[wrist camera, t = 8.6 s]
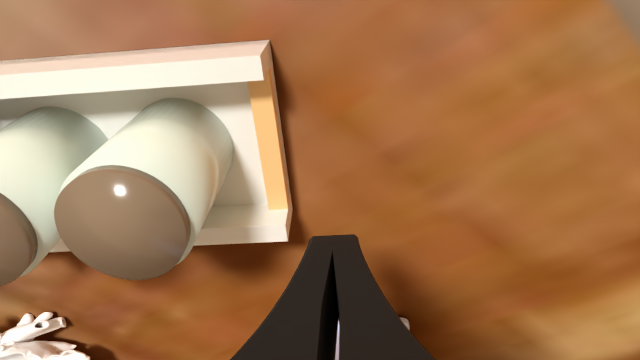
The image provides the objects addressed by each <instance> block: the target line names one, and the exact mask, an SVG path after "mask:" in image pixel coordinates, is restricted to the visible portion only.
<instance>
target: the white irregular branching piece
mask: <svg viewBox="0 0 640 360" xmlns="http://www.w3.org/2000/svg"><path fill="white" fill-rule="evenodd" d="M52 316H53V313H51V312H44V313H42V314H41V315H39V316H38V317H37V318H36V319H35V320H34V317H33V314H25V315H24V316H23V317H22V319H21V321H20V322H19V323H18V324H17V326H16V327H14V328H12V329H9V330H7V331H5V332H3V333H0V360H90V356H87V355H86V354H85V353H83V352H79V351H77V350H74V348H75V347H76V345H73V344H70V343H67V342H60V341H33V340H34V338H35V337H37V336H39V335H42V334H45V333H48V332H51V331H54V330H56V329H59V328H61V327H66V321H65V318H64V317H58V318H54V319H51V320H48V319H50V318H51V317H52ZM47 320H48V321H47Z"/></svg>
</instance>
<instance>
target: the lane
mask: <svg viewBox="0 0 640 360" xmlns="http://www.w3.org/2000/svg"><path fill="white" fill-rule="evenodd" d="M166 98H182V99H187V100H191V101H194V102H196V103H199V104H201V105H203V106H204V107H206V108H208V109H209V110H210V111H212V112H213V113H214V114H215V115H216V116H217V117H218V118H219V119H220V120H221V121H222V122H223V124H224V125H225V127H226V128H227V130H228V132H229V134H230V137H231V140H232V144H233V160H232V164H231V167H230V169H229V171H228V173H227V175H226V177H225V180H224V182H223V184H222V186H221V188H220V190H219V192H218V194H217V197H216V199H215V201H214V203H213V205H212V207H211V209H210V211H209V214H208V216H207V218H206V220H205V222H204V224H203V226H202V228H201V230H200V233H199V235H198V237H197V239H196V241H195V243H194V245H193V246H197V245H219V244H241V243H262V242H284V241H288V237H289V230H290V224H291V218H292V211H293V209H292V201H291V194H290V187H289V179H288V172H287V165H286V157H285V150H284V142H283V135H282V128H281V120H280V113H279V106H278V98H277V91H276V84H275V76H274V69H273V62H272V54H271V47H270V40H261V41H248V42H236V43H223V44H210V45H197V46H185V47H172V48H159V49H146V50H133V51H121V52H108V53H95V54H82V55H70V56H57V57H44V58H31V59H18V60H6V61H0V129H1V128H2V127H4V126H6V125H8V124H9V123H11V122H13V121H14V120H16V119H18V118H19V117H21V116H23V115H24V114H26V113H28V112H30V111H32V110H34V109H37V108H40V107H61V108H65V109H69V110H72V111H74V112H77V113H79V114H81V115H83V116H84V117H86V118H88V119H89V120H90V121H92V122H93V123H94V124H95V125H96V126H98V127H99V128H100V129H101V131H102V132H103V133H104V134H105V135H106V137H107V138H108V140H109V139H110V138H111V137H112V136H113V135H115V134H116V133H117V132H118V131H119V130H120V129H121V128H122V127H124V126H125V125H126V124H127V123H128V122H129V121H130V120H132V119H133V118H134V117H135V116H136V115H137V114H138V113H139V112H141V111H142V110H143V109H144V108H145V107H147V106H148V105H149V104H151V103H153V102H155V101H158V100H161V99H166ZM65 251H70V250H69V249H68V247H67V246H66V245H65V243H64V242H63V240H62V239H60V240H59V241H58V243H57V244H56V245H55V246H54V247H53V248H52V249H51V250H50V251H49V252H65Z"/></svg>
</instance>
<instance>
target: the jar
mask: <svg viewBox="0 0 640 360" xmlns="http://www.w3.org/2000/svg"><path fill="white" fill-rule="evenodd" d="M232 160H233V144H232V140H231V137H230V134H229V132H228V130H227V128H226V127H225V125H224V124H223V122H222V121H221V120H220V119H219V118H218V117H217V116H216V115H215V114H214V113H213V112H212V111H210V110H209V109H208V108H206V107H204V106H203V105H201V104H199V103H196V102H194V101H191V100H187V99H182V98H166V99H161V100H158V101H155V102H153V103H151V104H149V105H148V106H147V107H145V108H144V109H143V110H142V111H141V112H139V113H138V114H137V115H136V116H135V117H134V118H133V119H132V120H130V121H129V122H128V123H127V124H126V125H125V126H124V127H122V128H121V129H120V130H119V131H118V132H117V133H116V134H115V135H113V136H112V137H111V138H110V139H109V140H108V141H107V142H106V143H104V144H103V145H102V146H101V147H100V148H99V149H98V150H97V151H95V152H94V153H93V154H92V155H91V156H90V157H89V158H87V159H86V160H85V161H84V162H83V163H82V164H81V165H80V166H78V167H77V168H76V169H75V170H74V171H73V172H72V173H71V174H70V175H69V176H68V177H67V178H66V179H65V181H64V182H63V184H62V186H61V189H60V191H59V196H58V198H57V200H56V203H55V208H54V219H55V224H56V228H57V231H58V233H59V235H60V237H61V239H62V240H63V242H64V243H65V245H66V246H67V247H68V249H69V250H70V251H71V252H72V253H73V254H74V255H75V256H76V257H77V258H79V259H80V260H81V261H82V262H84V263H85V264H87V265H88V266H90V267H91V268H93V269H95V270H97V271H99V272H101V273H104V274H106V275H109V276H112V277H116V278H120V279H127V280H145V279H151V278H155V277H158V276H161V275H163V274H165V273H167V272H168V271H170V270H171V269H172V268H174V267H175V266H176V265H177V264H179V263H180V262H181V261H182V260H184V259H185V258H186V256H187V255H188V254H189V253H190V251H191V249H192V247H193V245H194V243H195V241H196V239H197V237H198V235H199V233H200V230H201V228H202V226H203V224H204V222H205V220H206V218H207V216H208V214H209V211H210V209H211V207H212V205H213V203H214V201H215V199H216V197H217V194H218V192H219V190H220V188H221V186H222V184H223V182H224V180H225V177H226V175H227V173H228V171H229V169H230V167H231V164H232Z"/></svg>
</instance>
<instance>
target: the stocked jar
mask: <svg viewBox="0 0 640 360" xmlns="http://www.w3.org/2000/svg"><path fill="white" fill-rule="evenodd" d="M107 141H108V138H107V137H106V135H105V134H104V133H103V132H102V131H101V129H100V128H99V127H98V126H96V125H95V124H94V123H93V122H92V121H90V120H89V119H88V118H86V117H84V116H83V115H81V114H79V113H77V112H74V111H72V110H69V109H65V108H61V107H40V108H37V109H34V110H32V111H30V112H28V113H26V114H24V115H23V116H21V117H19V118H18V119H16V120H14V121H13V122H11V123H9V124H8V125H6V126H4V127H2V128H1V129H0V285H4V284H7V283H10V282H12V281H14V280H16V279H17V278H18V277H21V276H23V275H25V274H27V273H29V272H31V271H32V270H33V269H34V268H35V267H36V266H37V265H38V264H39V263H40V262H41V260H42V259H43V258H44V257H45V256H46V255H47V254H48V253H49V251H50V250H51V249H52V248H53V247H54V246H55V245H56V244H57V243H58V241H59V240H60V239H61V237H60V235H59V233H58V231H57V228H56V224H55V219H54V208H55V203H56V200H57V198H58V196H59V191H60V189H61V186H62V184H63V182H64V181H65V179H66V178H67V177H68V176H69V175H70V174H71V173H72V172H73V171H74V170H75V169H76V168H77V167H78V166H80V165H81V164H82V163H83V162H84V161H85V160H86V159H87V158H89V157H90V156H91V155H92V154H93V153H94V152H95V151H97V150H98V149H99V148H100V147H101V146H102V145H103V144H104V143H106V142H107Z"/></svg>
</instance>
